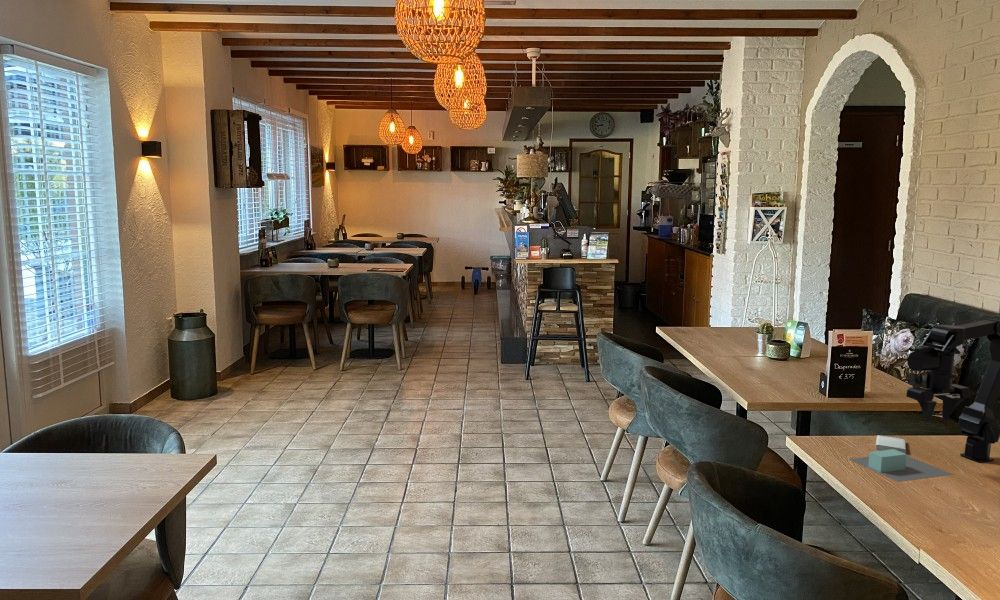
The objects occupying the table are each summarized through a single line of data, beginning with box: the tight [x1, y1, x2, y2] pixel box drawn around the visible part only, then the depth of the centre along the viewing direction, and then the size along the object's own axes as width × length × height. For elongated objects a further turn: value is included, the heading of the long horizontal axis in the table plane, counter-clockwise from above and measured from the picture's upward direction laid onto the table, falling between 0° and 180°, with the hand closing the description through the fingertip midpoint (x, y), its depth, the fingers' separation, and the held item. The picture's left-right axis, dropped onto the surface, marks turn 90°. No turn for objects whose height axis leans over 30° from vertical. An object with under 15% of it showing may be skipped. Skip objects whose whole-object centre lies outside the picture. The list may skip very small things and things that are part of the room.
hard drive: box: [875, 434, 907, 454], centre depth 235 cm, size 2×8×12 cm
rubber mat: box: [848, 455, 954, 483], centre depth 217 cm, size 20×18×1 cm
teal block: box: [868, 449, 908, 473], centre depth 216 cm, size 4×4×9 cm
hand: (935, 421), depth 219 cm, fingers open, 6 cm apart
